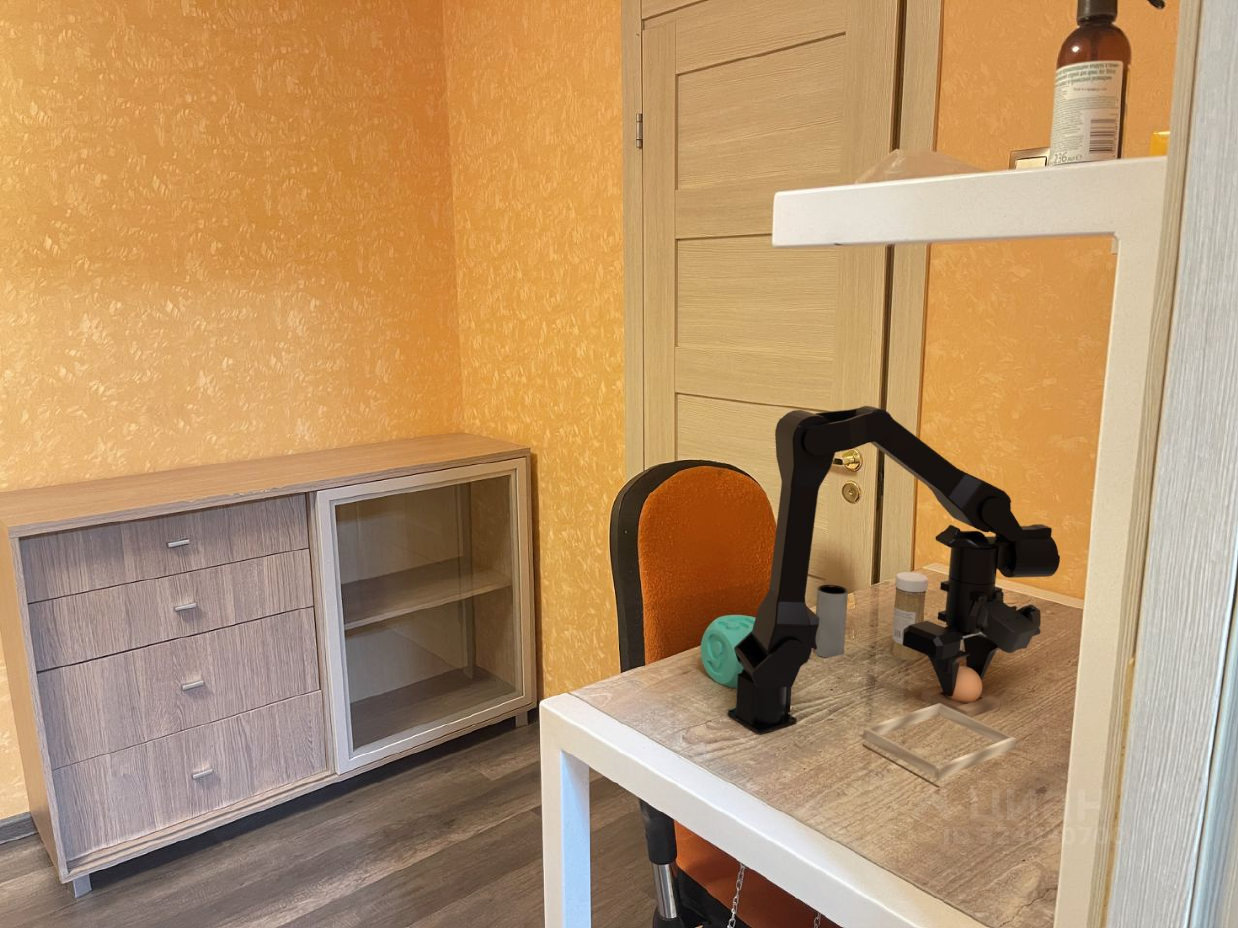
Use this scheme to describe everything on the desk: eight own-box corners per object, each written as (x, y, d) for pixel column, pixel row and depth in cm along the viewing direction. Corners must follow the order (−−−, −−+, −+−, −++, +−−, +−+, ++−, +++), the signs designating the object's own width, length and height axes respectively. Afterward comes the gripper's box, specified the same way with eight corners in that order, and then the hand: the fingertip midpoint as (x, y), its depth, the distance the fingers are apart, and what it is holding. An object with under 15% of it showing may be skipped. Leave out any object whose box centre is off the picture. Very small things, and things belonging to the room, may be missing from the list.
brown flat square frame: (965, 726, 114) (966, 711, 113) (920, 705, 119) (921, 691, 119) (999, 713, 117) (1000, 699, 117) (954, 694, 123) (955, 680, 123)
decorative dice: (777, 680, 126) (780, 627, 125) (735, 693, 122) (737, 638, 121) (740, 661, 133) (742, 610, 131) (698, 673, 128) (700, 620, 127)
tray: (937, 787, 99) (939, 768, 98) (862, 745, 108) (863, 728, 107) (1014, 756, 106) (1016, 738, 106) (938, 719, 115) (939, 702, 115)
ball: (964, 714, 115) (967, 677, 114) (932, 699, 119) (935, 664, 118) (988, 705, 117) (992, 669, 116) (956, 691, 122) (959, 657, 121)
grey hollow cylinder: (832, 646, 140) (836, 583, 138) (849, 656, 136) (854, 592, 134) (807, 649, 138) (811, 585, 136) (824, 660, 134) (828, 594, 132)
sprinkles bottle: (927, 663, 133) (934, 577, 131) (904, 668, 131) (911, 581, 129) (905, 653, 137) (912, 569, 135) (882, 657, 135) (889, 572, 133)
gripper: (980, 607, 103) (968, 732, 106) (1072, 584, 113) (1059, 698, 116) (904, 582, 113) (895, 697, 115) (995, 562, 123) (985, 668, 125)
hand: (961, 690), depth 118 cm, fingers closed on ball, 5 cm apart
